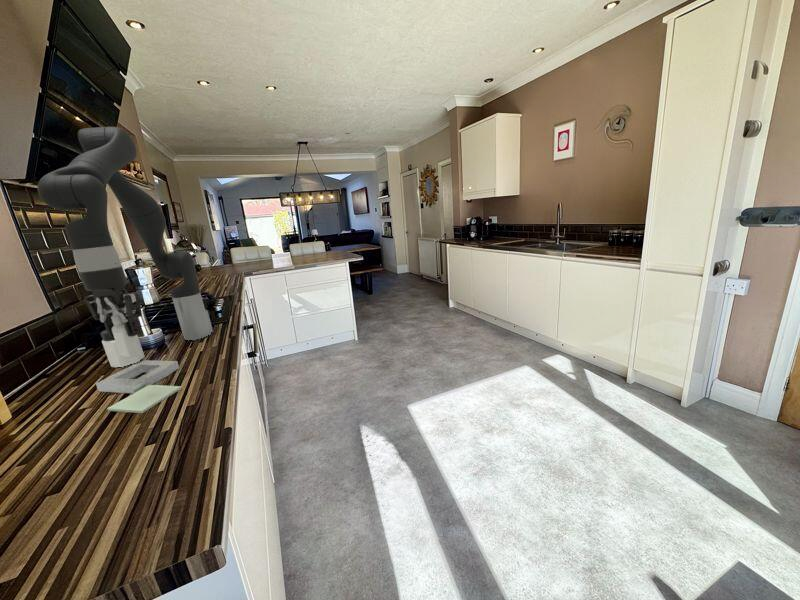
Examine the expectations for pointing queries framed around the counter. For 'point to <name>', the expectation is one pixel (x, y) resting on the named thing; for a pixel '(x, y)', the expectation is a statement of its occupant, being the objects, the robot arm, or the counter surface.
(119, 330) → the eye dropper bottle
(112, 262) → the robot arm
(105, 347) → the jar
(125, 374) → the collar block
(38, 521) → the counter surface
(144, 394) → the sage mat
